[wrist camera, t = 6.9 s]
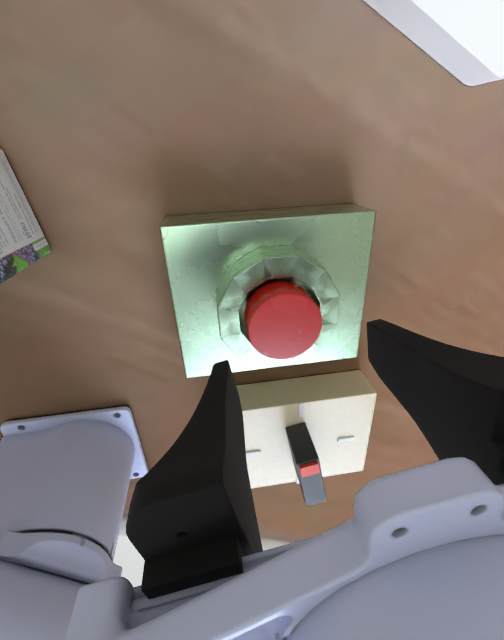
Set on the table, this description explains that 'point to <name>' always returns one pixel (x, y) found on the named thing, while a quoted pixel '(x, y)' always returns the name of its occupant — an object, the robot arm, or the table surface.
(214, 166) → the table surface
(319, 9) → the table surface
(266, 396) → the dial panel
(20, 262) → the syrup box
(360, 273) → the push button base
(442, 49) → the bracket
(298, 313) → the button
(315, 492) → the block
